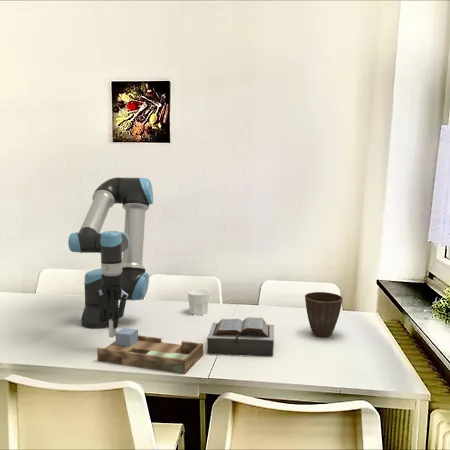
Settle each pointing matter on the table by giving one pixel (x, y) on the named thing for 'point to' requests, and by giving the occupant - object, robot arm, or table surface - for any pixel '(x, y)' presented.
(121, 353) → the wooden tray
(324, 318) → the plant pot
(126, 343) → the block
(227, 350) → the bible
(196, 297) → the cup
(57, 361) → the table surface
